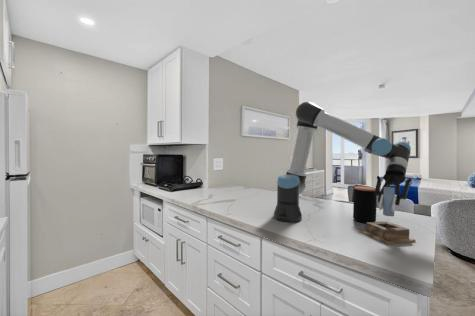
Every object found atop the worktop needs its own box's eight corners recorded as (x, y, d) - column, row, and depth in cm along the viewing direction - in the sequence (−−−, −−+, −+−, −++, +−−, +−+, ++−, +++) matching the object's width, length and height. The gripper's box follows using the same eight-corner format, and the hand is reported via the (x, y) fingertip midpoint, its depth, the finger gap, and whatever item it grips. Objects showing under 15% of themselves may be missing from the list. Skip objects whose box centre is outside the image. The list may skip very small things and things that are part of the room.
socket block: (360, 232, 102) (361, 221, 102) (385, 230, 105) (385, 220, 105) (387, 244, 88) (388, 232, 88) (415, 241, 91) (415, 230, 91)
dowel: (380, 214, 98) (381, 187, 97) (388, 213, 99) (388, 186, 98) (388, 216, 94) (389, 188, 94) (396, 216, 95) (397, 188, 94)
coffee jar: (372, 219, 123) (373, 186, 122) (378, 225, 112) (380, 189, 112) (351, 217, 125) (351, 185, 125) (355, 223, 115) (356, 188, 115)
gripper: (420, 175, 100) (412, 218, 89) (377, 172, 113) (365, 210, 102) (418, 164, 96) (410, 207, 85) (374, 162, 109) (362, 200, 98)
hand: (386, 209), depth 94 cm, fingers closed on dowel, 4 cm apart
